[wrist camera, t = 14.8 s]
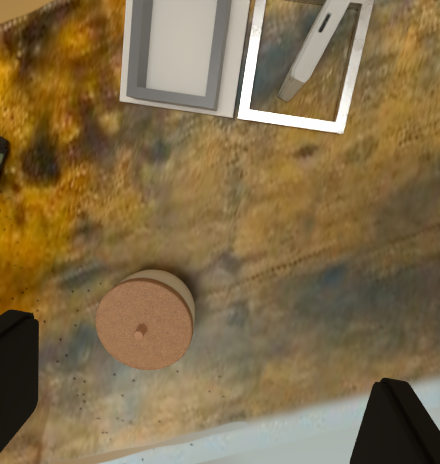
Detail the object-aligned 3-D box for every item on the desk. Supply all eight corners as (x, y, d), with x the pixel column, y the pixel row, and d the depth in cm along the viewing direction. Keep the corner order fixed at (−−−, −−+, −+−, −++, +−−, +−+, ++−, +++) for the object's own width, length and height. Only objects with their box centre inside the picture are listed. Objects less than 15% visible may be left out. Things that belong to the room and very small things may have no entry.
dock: (252, -16, 35) (252, -35, 31) (233, 118, 38) (230, 115, 35) (131, -31, 36) (117, -52, 32) (122, 101, 39) (108, 97, 35)
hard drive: (275, 96, 37) (286, 74, 26) (315, 19, 35) (347, -44, 23) (289, 103, 38) (306, 85, 26) (329, 27, 35) (368, -33, 23)
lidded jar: (188, 344, 46) (172, 394, 37) (112, 318, 46) (78, 360, 37) (213, 274, 43) (202, 308, 34) (132, 245, 43) (100, 272, 34)
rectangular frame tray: (370, -1, 34) (375, -7, 33) (339, 133, 38) (343, 133, 36) (258, -15, 35) (258, -22, 34) (238, 118, 38) (237, 118, 37)
